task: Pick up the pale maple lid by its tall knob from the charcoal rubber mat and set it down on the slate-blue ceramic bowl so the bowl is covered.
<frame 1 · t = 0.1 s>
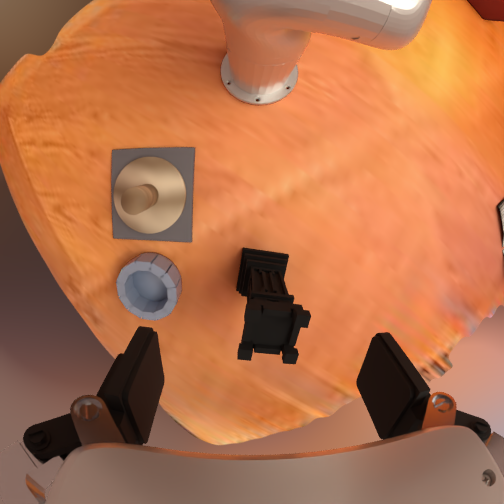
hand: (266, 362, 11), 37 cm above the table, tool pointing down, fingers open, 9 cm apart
bowl: (153, 280, 49), on the table
lid: (149, 194, 43), point 1 cm above the table, touching rubber mat
rubber mat: (150, 194, 44), on the table
chess piece: (261, 271, 49), on the table
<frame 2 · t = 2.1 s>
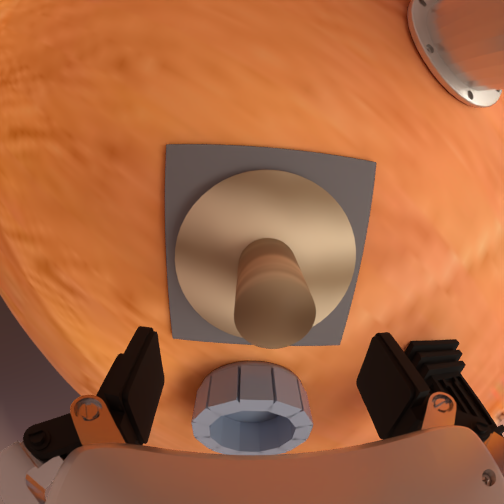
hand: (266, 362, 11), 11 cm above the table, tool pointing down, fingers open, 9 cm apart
bowl: (251, 396, 26), on the table
lid: (266, 259, 20), point 1 cm above the table, touching rubber mat
rubber mat: (265, 256, 21), on the table
chess piece: (419, 365, 26), on the table
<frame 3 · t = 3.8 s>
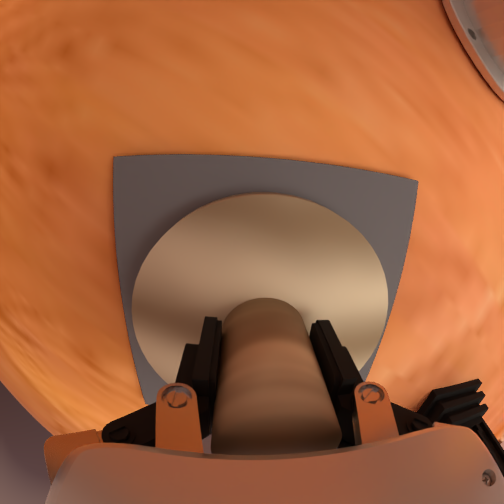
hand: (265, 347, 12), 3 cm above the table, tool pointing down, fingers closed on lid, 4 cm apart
lid: (261, 320, 14), point 1 cm above the table, touching gripper, rubber mat
rubber mat: (261, 314, 14), on the table
chess piece: (437, 410, 20), on the table
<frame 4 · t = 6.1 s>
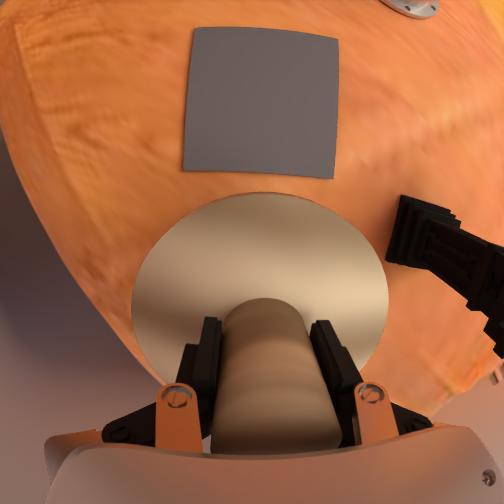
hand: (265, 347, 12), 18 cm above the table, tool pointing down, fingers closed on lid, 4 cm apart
lid: (261, 321, 14), point 16 cm above the table, touching gripper
rubber mat: (263, 95, 24), on the table
chess piece: (417, 232, 29), on the table
when the fingers open (8 cm above the table, at t = 8.6 s): lid drops 1 cm, resting on bowl.
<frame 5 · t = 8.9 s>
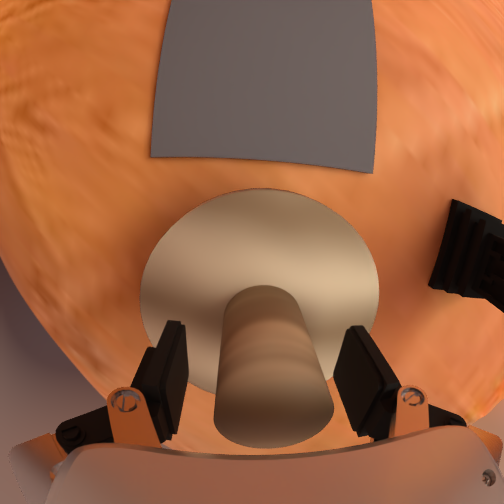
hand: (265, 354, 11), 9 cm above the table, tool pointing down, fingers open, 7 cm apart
lid: (261, 308, 15), point 5 cm above the table, touching bowl
rubber mat: (272, 51, 15), on the table
chess piece: (465, 249, 20), on the table
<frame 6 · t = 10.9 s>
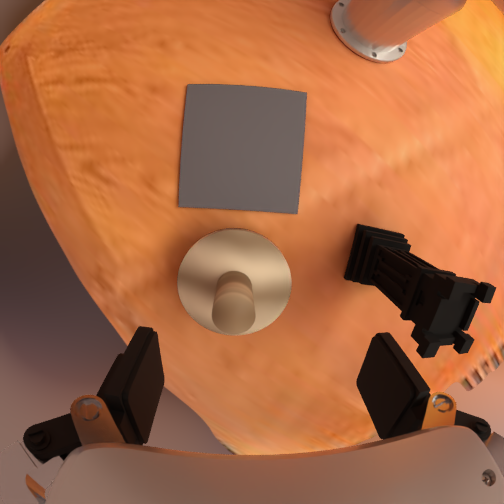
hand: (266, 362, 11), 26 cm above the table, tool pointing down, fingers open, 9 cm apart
lid: (234, 283, 32), point 5 cm above the table, touching bowl
rubber mat: (242, 146, 32), on the table
chess piece: (373, 255, 37), on the table
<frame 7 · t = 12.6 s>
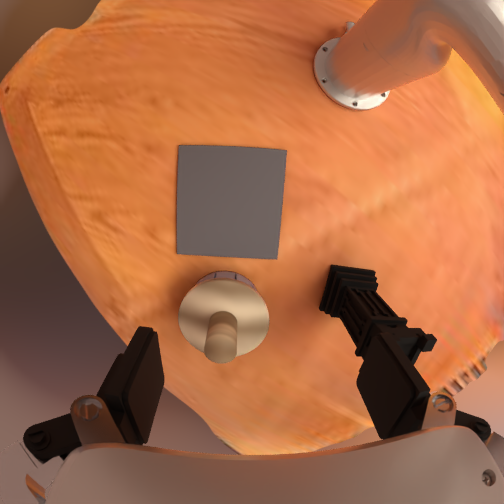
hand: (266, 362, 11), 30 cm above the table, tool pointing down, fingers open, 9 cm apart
bowl: (225, 302, 44), on the table
lid: (223, 318, 39), point 5 cm above the table, touching bowl
rubber mat: (229, 202, 39), on the table
chess piece: (346, 289, 44), on the table
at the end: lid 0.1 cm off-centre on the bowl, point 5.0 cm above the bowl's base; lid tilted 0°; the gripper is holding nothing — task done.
